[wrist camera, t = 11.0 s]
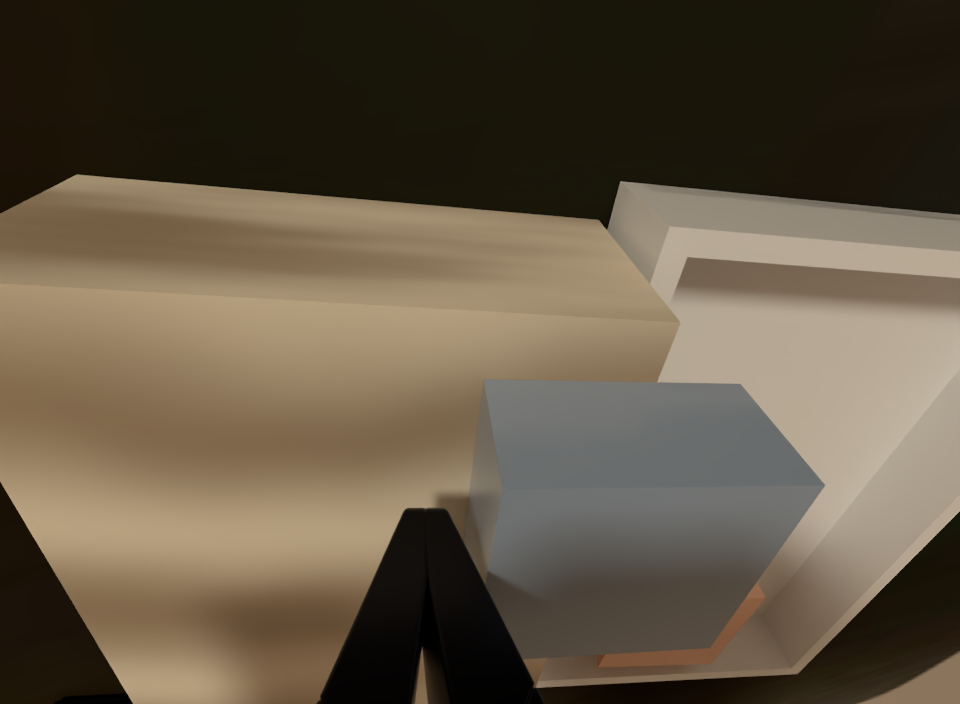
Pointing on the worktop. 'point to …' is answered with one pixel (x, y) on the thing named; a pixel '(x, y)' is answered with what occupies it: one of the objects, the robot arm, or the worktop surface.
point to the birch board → (272, 403)
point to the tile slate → (627, 511)
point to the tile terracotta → (689, 655)
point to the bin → (811, 389)
